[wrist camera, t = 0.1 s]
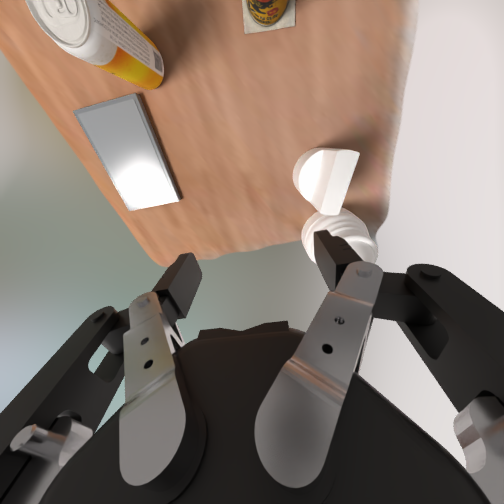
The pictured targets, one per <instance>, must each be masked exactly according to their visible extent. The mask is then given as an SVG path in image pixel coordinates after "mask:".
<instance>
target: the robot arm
mask: <svg viewBox="0 0 504 504" xmlns="http://www.w3.org/2000/svg"><path fill="white" fill-rule="evenodd" d="M313 237H314V256H315V261H316V263H317V265H318V267H319V269H320V271H321V273H322V276H323V278H324V280H325V282H326V284H327V286H328V288H329V290H330V291H329V292H328V294H327V295H326V297H325V299H324V301H323V303H322V305H321V307H320V308H319V310H318V312H317V313H316V315H315V317H314V319H313V321H312V322H311V324H310V326H309V328H308V330H307V332H306V333H305V332H303V331H300V330H297V329H293V328H289V326H288V321H280V322H272V323H264V324H261V325H258V326H255V327H253V328H250V329H247V330H244V331H237V330H230V329H223V328H217V329H207V330H200V332H199V335H198V338H197V339H194V340H193V341H190V342H189V343H187V344H185V343H184V340H183V337H182V335H181V332H180V330H179V327H178V325H177V324H176V321H177V319H182V318H186V316H187V314H188V311H189V309H190V306H191V304H192V301H193V299H194V297H195V294H196V292H197V289H198V287H199V284H200V282H201V279H202V272H201V269H200V267H199V265H198V263H197V260H196V258H195V256H194V254H193V253H185V254H180V255H179V257H178V258H177V260H176V261H175V262H174V263H173V264H172V265H171V266H170V267H168V269H167V270H166V271H165V274H163V276H162V278H161V279H160V280H159V281H158V283H157V284H156V286H155V287H154V288H153V290H152V291H151V292H147V293H144V294H142V295H140V296H138V297H137V298H136V299H135V300H133V302H132V303H131V304H130V306H129V308H127V309H125V310H122V311H119V312H117V311H116V310H115V309H114V308H113V307H112V306H108V307H104V308H102V309H100V310H98V311H96V312H94V313H93V314H92V315H90V316H89V317H88V318H87V319H86V320H85V321H84V322H83V323H82V325H81V326H80V327H79V328H78V329H77V330H76V331H75V332H74V333H73V335H71V337H70V338H69V339H68V340H67V341H66V342H65V343H64V344H63V345H62V346H61V348H60V349H59V350H58V351H57V352H56V353H55V354H54V355H53V356H52V357H51V359H50V360H49V361H48V362H47V363H46V364H45V365H44V366H43V367H42V368H41V370H40V371H39V372H38V373H37V374H36V375H35V376H34V377H33V378H32V380H31V381H30V382H29V383H28V384H27V385H26V386H25V387H24V388H23V389H22V390H21V391H20V393H19V394H18V395H17V396H16V397H15V398H14V399H13V400H12V401H11V402H10V404H9V405H8V406H7V407H6V408H5V409H4V410H3V411H2V412H1V413H0V504H504V312H503V311H502V310H500V309H499V308H498V307H496V306H495V305H494V304H492V303H491V302H490V301H488V300H487V299H486V298H484V297H483V296H482V295H480V294H479V293H478V292H476V291H475V290H474V289H472V288H471V287H470V286H468V285H467V284H465V283H464V282H463V281H461V280H460V279H459V278H458V277H456V276H455V275H453V274H452V273H451V272H449V271H448V270H446V269H444V268H441V267H438V266H434V265H429V264H415V265H411V266H410V267H408V269H407V272H406V274H404V273H389V272H383V270H382V269H381V268H380V267H379V266H378V265H376V264H374V263H371V262H365V261H363V260H362V258H361V257H360V256H359V255H358V254H357V253H356V252H355V251H354V249H352V247H351V246H350V245H349V244H348V243H347V241H346V240H345V239H343V238H341V237H339V236H332V235H331V234H330V233H329V231H328V230H327V229H326V230H320V231H314V234H313ZM374 318H380V319H387V320H393V321H396V322H397V323H398V325H399V326H400V328H401V329H402V331H403V332H404V334H405V335H406V337H407V338H408V339H409V341H410V342H411V344H412V345H413V347H414V348H415V350H416V351H417V353H418V354H419V355H420V357H421V358H422V360H423V361H424V363H425V364H426V365H427V367H428V369H429V370H430V372H431V373H432V374H433V376H434V377H435V379H436V380H437V381H438V383H439V385H440V386H441V388H442V389H443V391H444V392H445V393H446V395H447V396H448V398H449V399H450V401H451V402H452V404H453V405H454V407H455V408H456V409H457V411H458V412H459V414H458V415H457V416H456V417H455V419H454V431H455V434H456V437H457V439H458V441H459V443H460V445H461V447H462V449H463V451H464V454H465V458H466V469H465V468H464V467H463V466H462V465H461V464H460V463H459V462H458V461H457V460H456V459H455V458H454V457H453V456H452V455H451V454H450V453H449V452H448V451H447V450H446V449H445V448H444V447H443V446H442V445H440V444H439V443H438V442H437V441H436V440H435V439H433V438H432V437H431V436H430V435H429V434H428V433H426V432H425V431H424V430H423V429H422V428H421V427H419V426H418V425H417V424H416V423H415V422H413V421H412V420H411V419H410V418H409V417H408V416H406V415H405V414H404V413H403V412H402V411H401V410H399V409H398V408H397V407H396V406H395V405H394V404H392V403H391V402H390V401H389V400H388V399H386V398H385V397H384V396H383V395H382V394H381V393H379V392H378V391H377V390H376V389H375V388H374V387H372V386H371V385H370V384H369V383H368V382H366V381H365V380H364V379H363V378H362V377H361V376H360V375H358V374H359V370H360V366H361V363H362V358H363V355H364V351H365V347H366V343H367V340H368V336H369V333H370V329H371V326H372V322H373V319H374ZM100 344H102V345H103V346H104V347H106V348H107V349H108V350H109V352H108V353H107V354H106V356H105V357H104V359H103V360H102V362H101V363H100V365H99V367H98V368H97V370H96V371H95V373H92V372H91V371H90V370H89V368H88V363H89V360H90V358H91V357H92V355H93V354H94V352H95V351H96V350H97V349H98V347H99V346H100ZM124 376H125V403H124V404H123V406H122V407H120V408H119V409H118V410H117V412H115V414H114V415H113V416H112V417H111V418H110V419H109V420H108V421H107V422H106V423H105V424H104V425H103V426H102V427H101V428H100V429H99V430H98V431H97V432H96V433H95V431H96V430H97V428H98V426H99V424H100V422H101V420H102V418H103V416H104V414H105V412H106V410H107V408H108V406H109V405H110V403H111V401H112V399H113V397H114V395H115V393H116V391H117V389H118V388H119V386H120V384H121V382H122V380H123V378H124ZM94 433H95V434H94Z"/></svg>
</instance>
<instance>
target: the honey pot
mask: <svg viewBox="0 0 504 504" xmlns="http://www.w3.org/2000/svg"><path fill="white" fill-rule="evenodd" d="M326 229H327V230H328V231H329V233H330V234H331V235H332V236H339V237H341V238H343V239H345V240H346V241H347V243H348V244H349V245H350V246H351V247H352V249H354V251H355V252H356V253H357V254H358V255H359V256H360V257H361V258H362V260H363V261H365V262H371V263H374V264H375V262H376V260H377V257H378V248H377V245H376V243H375V242H374V241H373V240H372V239H371V238H370V235H369V232H368V229H367V227H366V225H365V224H364V222H363V221H362V220H361V219H359V218H358V217H357V216H356V215H354V214H353V213H352V212H350V211H349V210H347V209H345V208H341V209H340V212H339V215H324V214H321V213H319V211H318V212H316V213H314V214H313V215H312V216H311V217H310V218H309V219H308V220H307V222H306V223H305V225H304V227H303V230H302V242H303V245H304V247H305V249H306V252H307V254H308V256H309V257H310V259H311V260H312V261H313V262H315V263H316V261H315V256H314V237H313V234H314V231H320V230H326ZM316 264H317V263H316Z"/></svg>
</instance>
